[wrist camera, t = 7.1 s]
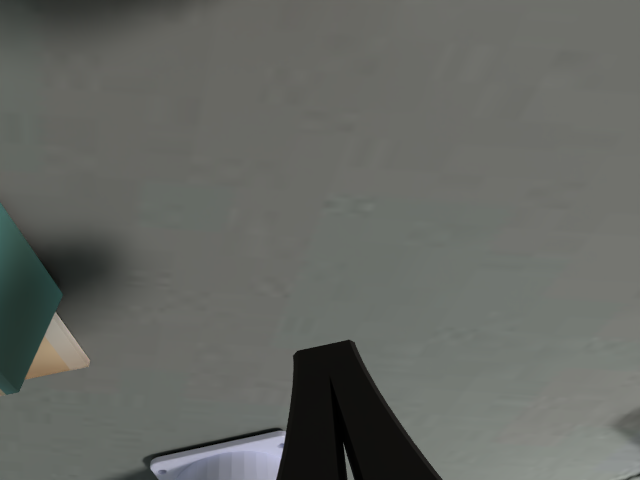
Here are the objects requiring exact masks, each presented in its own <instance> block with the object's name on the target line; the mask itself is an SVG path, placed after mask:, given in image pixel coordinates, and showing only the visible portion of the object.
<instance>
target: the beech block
mask: <svg viewBox="0 0 640 480" xmlns="http://www.w3.org/2000/svg"><path fill="white" fill-rule="evenodd" d="M62 296H63V294H62V292H61V291H60V289H59V288H58V286H57V285H56V283H55V282H54V281H53V279H52V278H51V276H50V275H49V273H48V272H47V270H46V269H45V267H44V266H43V264H42V263H41V261H40V260H39V259H38V257H37V256H36V254H35V253H34V251H33V250H32V248H31V247H30V245H29V244H28V242H27V241H26V240H25V238H24V237H23V235H22V234H21V232H20V231H19V229H18V228H17V226H16V225H15V223H14V222H13V221H12V219H11V218H10V216H9V215H8V213H7V212H6V210H5V209H4V207H3V206H2V204H1V203H0V396H3V395H8V394H12V393H17V392H19V390H20V388H21V386H22V384H23V382H24V379H25V377H26V375H27V373H28V371H29V369H30V366H31V364H32V362H33V360H34V358H35V355H36V353H37V351H38V349H39V347H40V344H41V342H42V340H43V338H44V336H45V333H46V331H47V329H48V327H49V325H50V322H51V320H52V318H53V316H54V314H55V311H56V309H57V307H58V305H59V303H60V300H61V298H62Z"/></svg>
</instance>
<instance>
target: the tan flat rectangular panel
mask: <svg viewBox="0 0 640 480" xmlns="http://www.w3.org/2000/svg"><path fill="white" fill-rule="evenodd" d="M89 363H90V360H89V358H88V357H87V356H86V354H85V353H84V351H83V350H82V349H81V347H80V346H79V344H78V343H77V341H76V340H75V339H74V337H73V336H72V334H71V333H70V332H69V330H68V329H67V327H66V326H65V324H64V323H63V322H62V320H61V319H60V317H59V316H58V315H57V313H56V312H55V314H54V316H53V318H52V320H51V322H50V325H49V327H48V329H47V331H46V333H45V336H44V338H43V340H42V342H41V344H40V347H39V349H38V351H37V353H36V355H35V358H34V360H33V362H32V364H31V366H30V369H29V371H28V373H27V375H26V377H25V379H30V378H34V377H39V376H44V375H49V374H54V373H58V372H63V371H68V370H75V369H79V368H84V367H88V366H89ZM25 379H24V380H25Z"/></svg>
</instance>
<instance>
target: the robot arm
mask: <svg viewBox="0 0 640 480" xmlns="http://www.w3.org/2000/svg"><path fill="white" fill-rule="evenodd" d="M293 359H294V371H293V387H292V396H291V404H290V412H289V418H288V424H287V430H286V432H285V431H275V432H271V433H266V434H261V435H257V436H252V437H248V438H243V439H238V440H234V441H229V442H225V443H220V444H215V445H211V446H206V447H202V448H197V449H192V450H188V451H183V452H179V453H174V454H169V455H165V456H160V457H156V458H154V459H153V460H152V461H151V464H150V469H151V470H152V471H153V473H154V474H155V475H156V477H157V478H158V479H159V480H347V471H346V463H345V454H344V446H345V450H346V453H347V456H348V460H349V463H350V467H351V470H352V473H353V477H354V480H442V478H441V477H440V476H439V475H438V473H437V472H436V471H435V470H434V468H433V467H432V466H431V464H430V463H429V462H428V461H427V459H426V458H425V457H424V455H423V454H422V453H421V451H420V450H419V449H418V447H417V446H416V445H415V443H414V442H413V441H412V439H411V438H410V436H409V435H408V434H407V432H406V431H405V429H404V428H403V426H402V425H401V423H400V422H399V421H398V419H397V418H396V416H395V415H394V413H393V412H392V410H391V409H390V407H389V406H388V404H387V403H386V401H385V399H384V398H383V396H382V395H381V393H380V391H379V390H378V388H377V386H376V385H375V383H374V381H373V379H372V378H371V376H370V374H369V372H368V371H367V369H366V367H365V365H364V363H363V361H362V359H361V357H360V354H359V352H358V350H357V348H356V345H355V342H353V341H351V340H346V341H341V342H337V343H332V344H327V345H323V346H318V347H313V348H309V349H304V350H299V351H297V352H296V353H295V354H294V355H293ZM343 443H344V446H343Z"/></svg>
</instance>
